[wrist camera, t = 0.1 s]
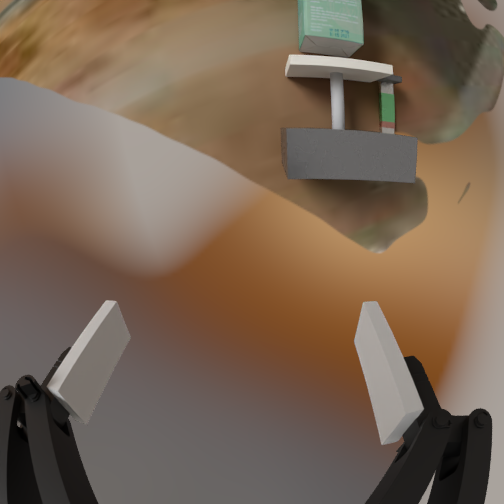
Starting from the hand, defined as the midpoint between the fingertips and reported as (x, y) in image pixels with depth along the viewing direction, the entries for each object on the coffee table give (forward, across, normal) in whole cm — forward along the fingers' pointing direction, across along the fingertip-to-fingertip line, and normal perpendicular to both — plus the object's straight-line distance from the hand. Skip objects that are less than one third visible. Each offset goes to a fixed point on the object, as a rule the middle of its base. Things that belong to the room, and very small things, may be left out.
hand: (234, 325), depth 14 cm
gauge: (+28, +12, +11) cm, 32 cm away
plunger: (+28, +12, +11) cm, 32 cm away
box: (+28, +11, +27) cm, 41 cm away
